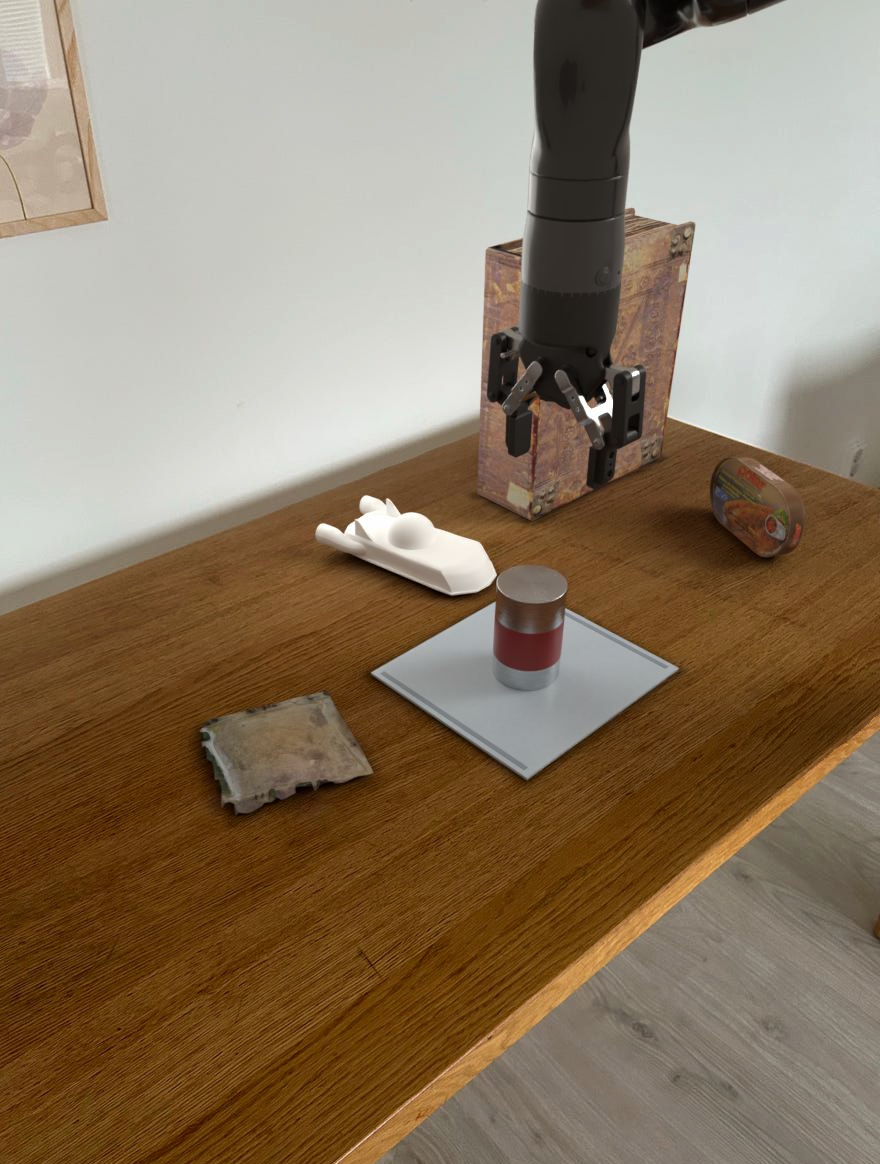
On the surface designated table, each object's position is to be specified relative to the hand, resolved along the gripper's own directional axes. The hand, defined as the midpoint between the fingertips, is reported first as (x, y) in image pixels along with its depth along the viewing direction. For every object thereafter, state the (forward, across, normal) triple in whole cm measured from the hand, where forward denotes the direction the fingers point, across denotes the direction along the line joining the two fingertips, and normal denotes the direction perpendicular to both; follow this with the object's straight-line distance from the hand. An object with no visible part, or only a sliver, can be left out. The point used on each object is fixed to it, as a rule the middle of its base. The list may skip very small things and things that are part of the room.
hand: (556, 469), depth 86 cm
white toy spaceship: (+21, +23, -5) cm, 32 cm away
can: (+21, +1, +2) cm, 21 cm away
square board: (+21, +1, +2) cm, 21 cm away
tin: (+22, 0, -36) cm, 43 cm away
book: (+22, +24, -34) cm, 46 cm away
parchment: (+21, +8, +26) cm, 34 cm away
